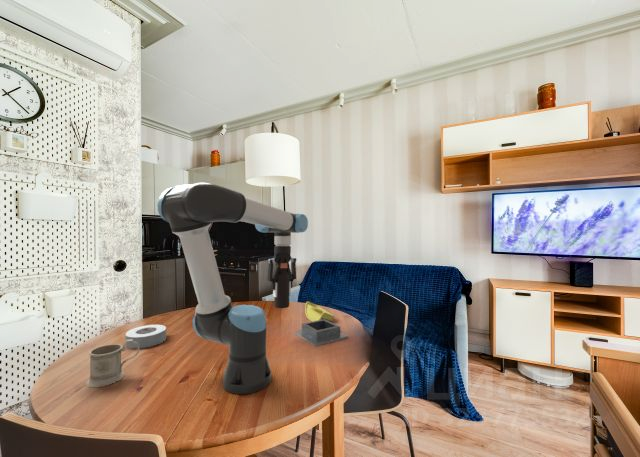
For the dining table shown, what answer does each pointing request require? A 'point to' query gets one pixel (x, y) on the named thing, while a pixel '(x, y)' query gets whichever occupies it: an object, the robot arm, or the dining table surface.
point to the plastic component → (317, 312)
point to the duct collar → (320, 332)
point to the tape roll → (146, 336)
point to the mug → (107, 364)
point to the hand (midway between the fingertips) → (281, 295)
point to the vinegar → (282, 287)
